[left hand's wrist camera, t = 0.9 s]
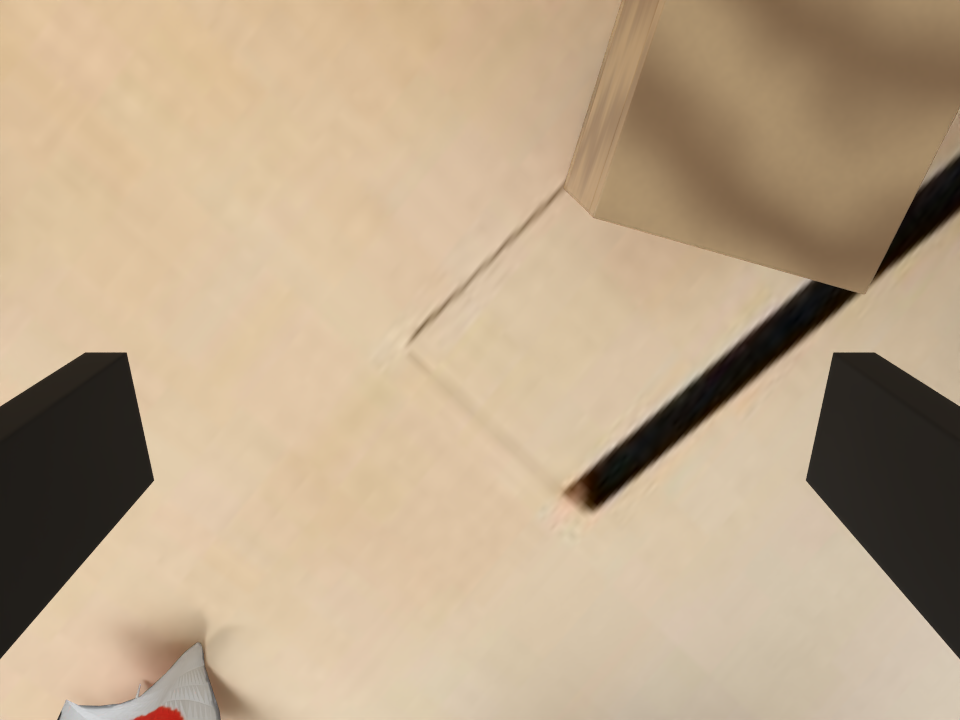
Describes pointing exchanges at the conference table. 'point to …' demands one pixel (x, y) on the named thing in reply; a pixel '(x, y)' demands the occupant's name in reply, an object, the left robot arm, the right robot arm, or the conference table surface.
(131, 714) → the fish
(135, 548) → the conference table surface
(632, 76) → the cabinet
